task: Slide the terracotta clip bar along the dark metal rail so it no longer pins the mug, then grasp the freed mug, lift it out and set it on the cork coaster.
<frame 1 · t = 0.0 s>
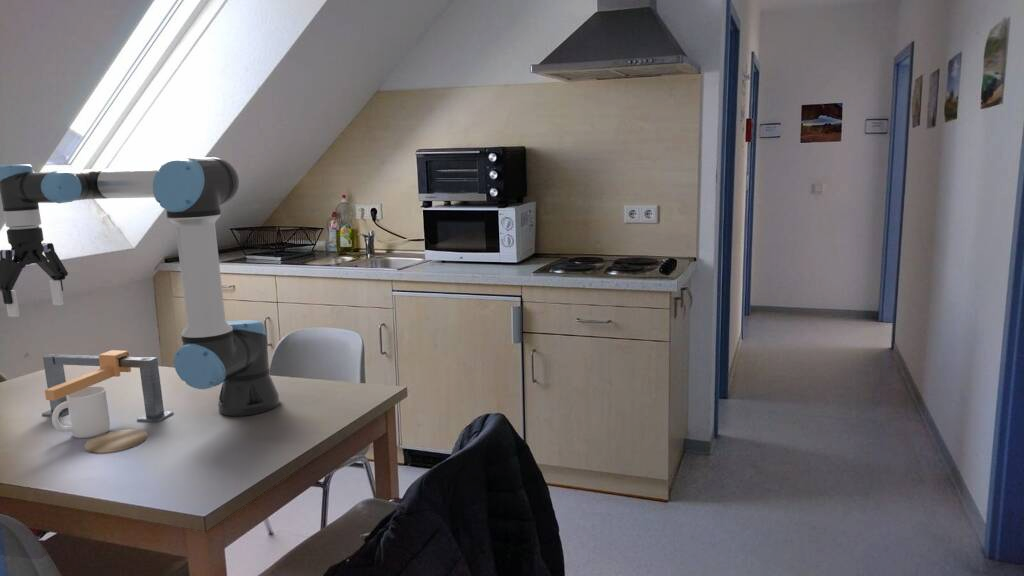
hand: (37, 310, 193), 28 cm above the table, fingers open, 13 cm apart
mug: (83, 435, 183), on the table
coaster: (116, 441, 177), on the table
clip: (87, 373, 184), point 14 cm above the table, slide at 0.0 cm
rail frame: (107, 414, 197), on the table
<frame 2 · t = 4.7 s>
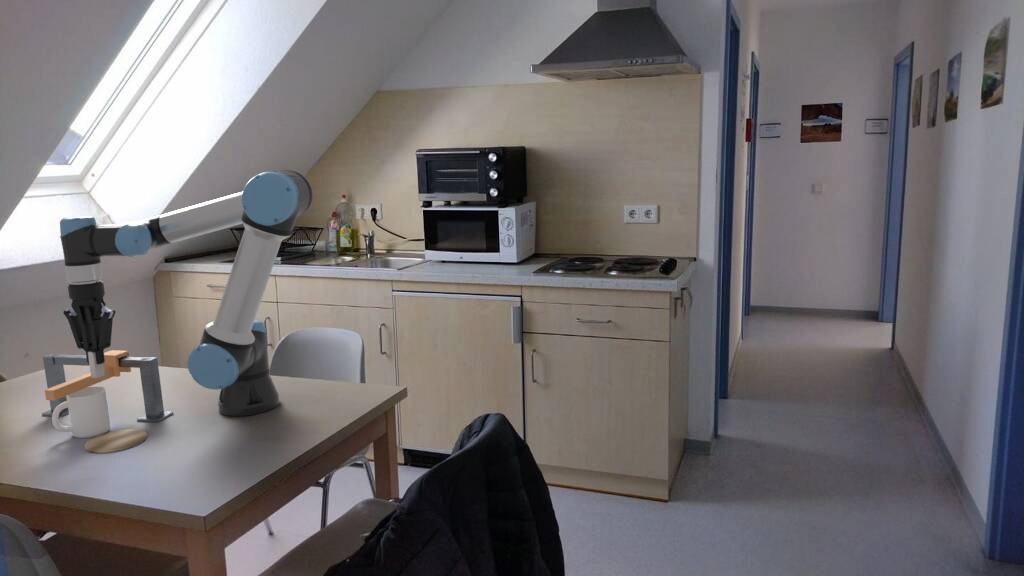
hand: (97, 376, 185), 13 cm above the table, fingers closed
clip: (87, 373, 184), point 14 cm above the table, slide at 0.0 cm, touching gripper
everything else where it was.
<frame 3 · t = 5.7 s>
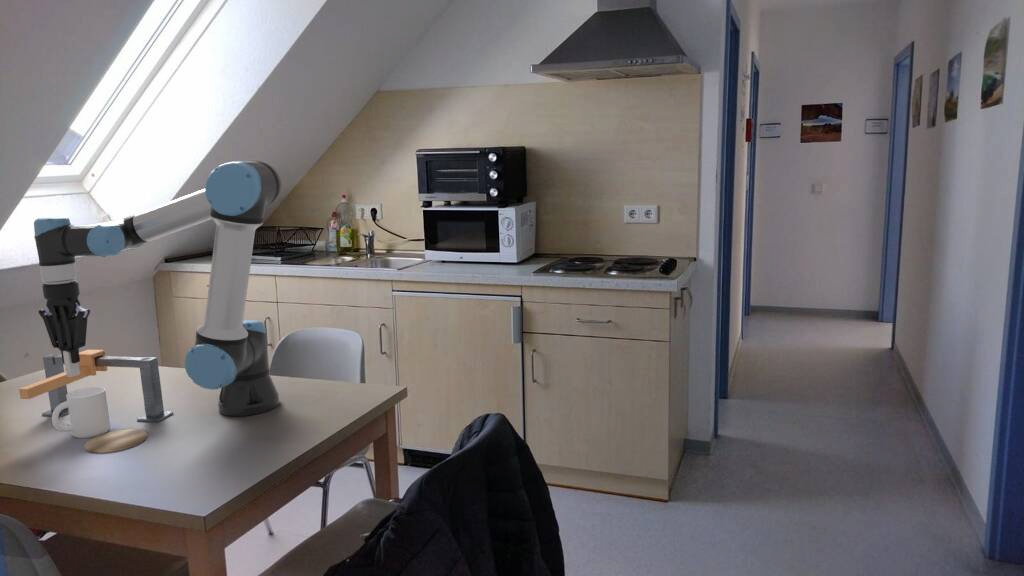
hand: (73, 375, 187), 13 cm above the table, fingers closed
clip: (62, 372, 186), point 14 cm above the table, slide at 7.2 cm, touching gripper
everything else where it was.
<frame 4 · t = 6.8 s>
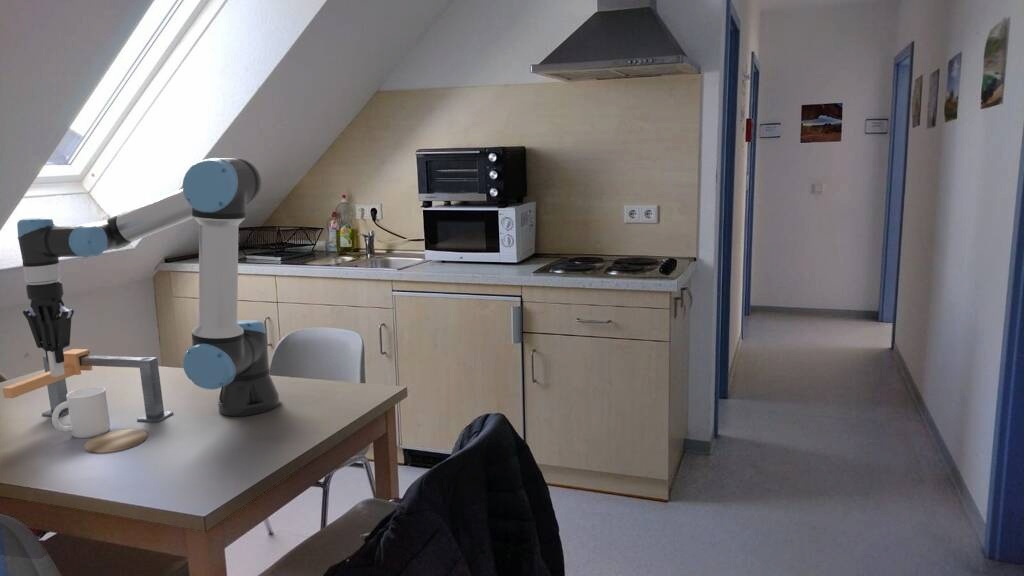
hand: (57, 375, 188), 13 cm above the table, fingers closed
clip: (46, 372, 187), point 14 cm above the table, slide at 11.9 cm, touching gripper
everything else where it was.
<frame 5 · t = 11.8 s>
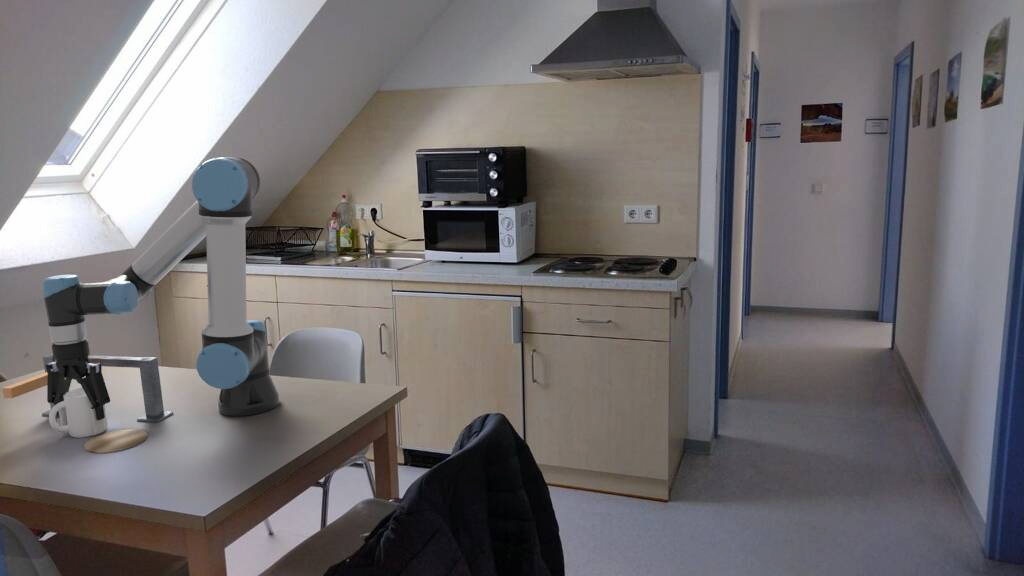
hand: (83, 431, 183), 1 cm above the table, fingers closed on mug, 8 cm apart
mug: (80, 435, 183), on the table, touching gripper
clip: (46, 372, 187), point 14 cm above the table, slide at 11.9 cm
when the fingers open (3 cm above the table, at t = 17.0 s): mug drops 1 cm, resting on coaster.
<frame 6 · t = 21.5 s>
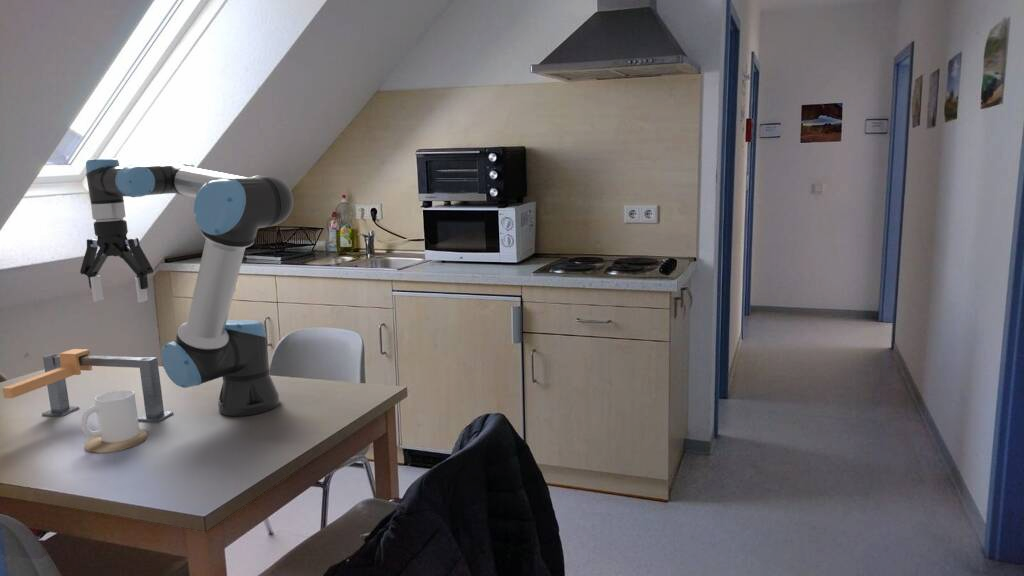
hand: (120, 301, 197), 29 cm above the table, fingers open, 13 cm apart
mug: (112, 440, 178), resting on coaster
everything else where it was.
at the end: clip slide at 11.9 cm; mug 1.0 cm from the coaster (horizontally); mug tilted 0° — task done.
